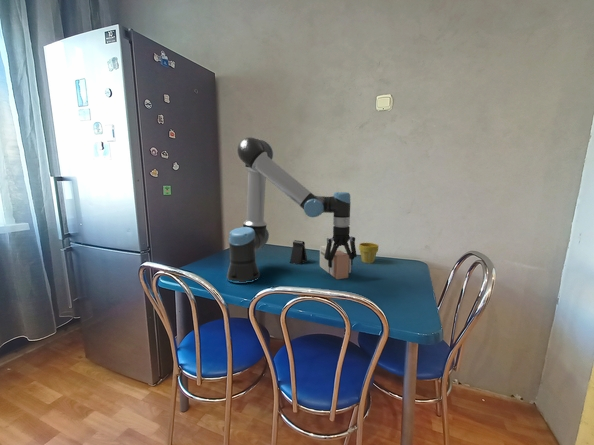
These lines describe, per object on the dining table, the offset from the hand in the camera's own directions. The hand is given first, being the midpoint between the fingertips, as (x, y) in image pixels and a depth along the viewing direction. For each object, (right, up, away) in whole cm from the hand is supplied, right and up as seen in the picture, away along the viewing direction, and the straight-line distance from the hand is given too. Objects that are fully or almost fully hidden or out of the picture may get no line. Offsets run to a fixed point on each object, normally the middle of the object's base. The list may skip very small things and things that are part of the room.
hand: (340, 272), depth 134 cm
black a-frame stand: (-20, +2, +24) cm, 31 cm away
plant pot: (+19, +2, +24) cm, 31 cm away
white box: (-4, 0, +12) cm, 12 cm away
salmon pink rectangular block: (-1, -2, +2) cm, 3 cm away
